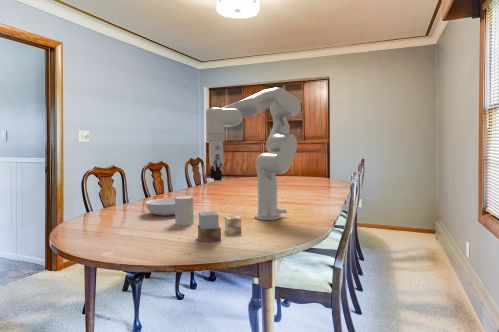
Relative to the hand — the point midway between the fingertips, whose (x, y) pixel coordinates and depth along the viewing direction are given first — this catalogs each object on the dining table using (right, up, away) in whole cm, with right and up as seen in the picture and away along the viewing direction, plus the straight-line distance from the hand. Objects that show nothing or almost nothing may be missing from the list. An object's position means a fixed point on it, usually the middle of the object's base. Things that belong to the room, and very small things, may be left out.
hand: (215, 179), depth 134 cm
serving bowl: (-29, -20, +33) cm, 49 cm away
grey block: (-1, -17, -13) cm, 22 cm away
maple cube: (+7, -22, -2) cm, 23 cm away
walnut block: (-1, -22, -13) cm, 26 cm away
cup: (-16, -21, +12) cm, 29 cm away
